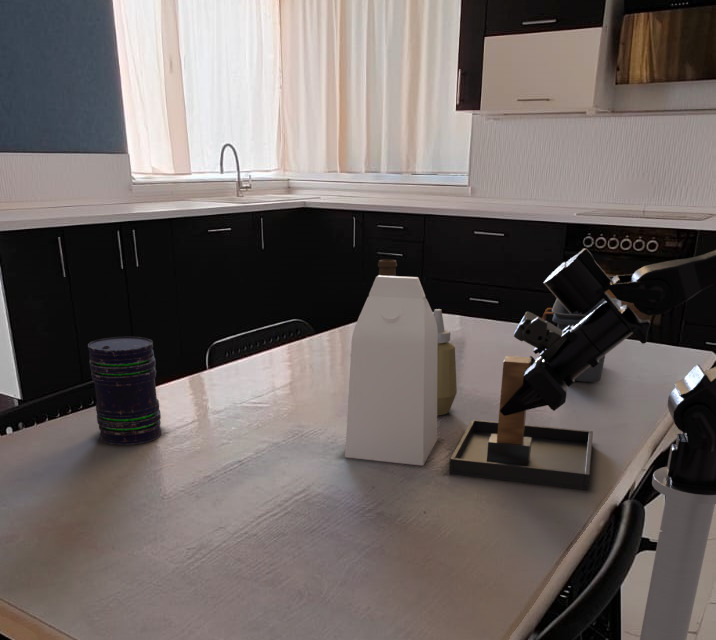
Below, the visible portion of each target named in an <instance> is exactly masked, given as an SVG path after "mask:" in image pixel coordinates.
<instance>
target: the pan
mask: <svg viewBox="0 0 716 640" xmlns="http://www.w3.org/2000/svg"><path fill="white" fill-rule="evenodd" d="M497 433H498V421H492V420H484V419H483V420H482V419H471V420H470V422H469V424H468V426H467V427H466V429H465V431H464V433H463V435H462V436H461V438H460V440H459V442H458V444H457V445H456V448H455V449H454V451H453V453H452V455H451V457H450V458H449V467H448V469H449V471H448V474H449V475H457V476H466V477H474V478H483V479H490V480H491V479H492V480H499V481H508V482H516V483H525V484H532V485H542V486H551V487H559V488H567V489H576V490H584V491H588V487H589V481H590V473H591V462H592V461H591V460H592V448H593V435H594V431H593V430H584V429H573V428H565V427H553V426H542V425H533V424H525V429H524V437H529V438H532V442H531V452H530V459H529V463H528V465H519V464H509V463H500V462H490V461H487V451H488V442H489V439H490V437H491V434H497Z"/></svg>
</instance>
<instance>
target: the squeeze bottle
mask: <svg viewBox="0 0 716 640" xmlns="http://www.w3.org/2000/svg"><path fill="white" fill-rule="evenodd" d="M433 314H434V317H435V319H436V323H437V331H438V344H437V416H442V415H446V414H449V412H450V411H451V408H452V406H453V403H454V401H455V399H456V396H457V393H458V388H457V365H456V346H455V345H454V344H453V343H451V342H450V341H451V331H450V330H449V329H445V324H444V318H443V311H442V309H440V308H438V309H437V308H436V309H434V310H433Z"/></svg>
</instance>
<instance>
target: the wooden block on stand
mask: <svg viewBox="0 0 716 640" xmlns="http://www.w3.org/2000/svg"><path fill="white" fill-rule="evenodd" d="M531 359H532V358H530V357H526V356H513V355H506V356H505V358H504V360H503V363H502V376H501V389H500V399H499V411H498V421H497V422H498V433H497V434H491V437H490V439H489V442H488V451H487V461H490V462H500V463H509V464H519V465H528V463H529V459H530V452H531V442H532V438H529V437H524V429H525V425H526V419H527V410H525V411H521V412H518V413H514V414H510V415H506V416H504V415H503V414H502V413H501V412H500V409H501V408H502V407H503V406H504V404H505V403H506V402H507V401H508V400H509V399H510V398H511V397H512V395H513V394H514V393H515V392H516V391H517V390H518V389H519V387H520V386H521V385H522V384H523V377H524V376H523V374H524V371H525V368H527V369H528V368H529V367H530V366H531Z"/></svg>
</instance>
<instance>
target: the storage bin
mask: <svg viewBox="0 0 716 640" xmlns="http://www.w3.org/2000/svg"><path fill="white" fill-rule="evenodd" d="M611 298H612V299H613V300H614V302H615V303H616V304H617V305H618V306H619V307H621V306H623V304H622V301H620V300H618V299H617V298H616V297H615V298H613V297H611ZM604 301H605V300H604V298H603V299H602V300H601V301H600V302H599V303H598V304H596V305H595V306H594V307H593V308H592V309H590V310H589V311H588V312H586V313H585V314H581V313H578V312H577V311H576V312H574V313H572V314H570V313H569V312H568V311H567V309H566V308H565V307H564V306H563V305H562V304H561V302H560V301H559V300H558V299H557V298H555V302H554V303H553V306H552V307H547V308H546V309H545V311H544V313H543V315H542V319H544V320H546V321H547V315H553V316H552V322H553V323H554V324H557V328H559V329H561V330H564V329H565V328H566V327H567V326H569V325H570V326H572V325H574V326H575V325H576V324H578V323H579V322H580V321H581V320H582V319H584V318H585V317H586V316H587V315H589V314H590V313H591V312H592V311H593V310H595V309H596V308H597V307H598V306H600V305H601V304H602V303H603V302H604ZM605 359H606V355H604V356H603V357H602V358H601V359H599V364H597V365H596V366H595V367H594V368H592V366H590V367H589V368H588V369H586V370H585V371H584V372H583V373H581V374H580V375H579V376H577V377H576V378H575V380H574V382H582V383H584V382H585V383H599V382H601V378H602V374H603V368H604V363H605Z"/></svg>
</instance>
